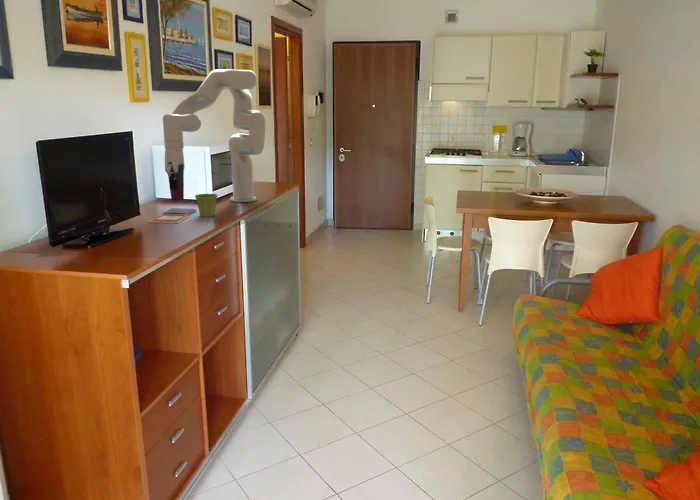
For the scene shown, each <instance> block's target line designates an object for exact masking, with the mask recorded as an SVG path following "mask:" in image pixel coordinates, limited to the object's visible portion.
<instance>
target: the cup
mask: <svg viewBox="0 0 700 500" xmlns="http://www.w3.org/2000/svg"><path fill="white" fill-rule="evenodd" d="M172 169H173V167H172ZM171 172H174V170H171ZM184 172H185V163H184V164H182V165H178V172H177V173H176V180H177V188H178V189H170V188H169V191H170V200H172V201H182V200H184V199H185V197H184V195H185V191H184V190H185V189H184V187H185V182H184V178H185V175H184V174H185V173H184ZM173 176H174V174H173ZM168 179H169V177H168Z"/></svg>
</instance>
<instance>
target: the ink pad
mask: <svg viewBox="0 0 700 500" xmlns="http://www.w3.org/2000/svg"><path fill="white" fill-rule="evenodd" d="M196 212H197V208H179V207H178V208H176V207H173V208H169V209H168V210H166V211H163V212H161V214H179V215H187V216H190V215H192V214H195V213H196ZM161 214H160V215H161Z"/></svg>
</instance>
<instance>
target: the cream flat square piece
mask: <svg viewBox="0 0 700 500" xmlns="http://www.w3.org/2000/svg"><path fill="white" fill-rule="evenodd" d="M188 218H190V215H189V216H187V215H179V214H160V215H158V216H155V217H153V218H151V219H150V220H149V221H148V223H157V224H179V223H181V222H184V221H185V220H187V219H188Z"/></svg>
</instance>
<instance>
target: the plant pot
mask: <svg viewBox="0 0 700 500" xmlns="http://www.w3.org/2000/svg"><path fill="white" fill-rule="evenodd" d="M218 196H219V195H218V194H216V193H200V194H196V195H195V194H194V198H195V200H196V202H197V203H196V204H197V207H198V208H197V209H198V212H199V216H200V217H203V218H209V217H210V218H211V217H214V216H215V215H216V207H217V206H216V204H217V199H218Z"/></svg>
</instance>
